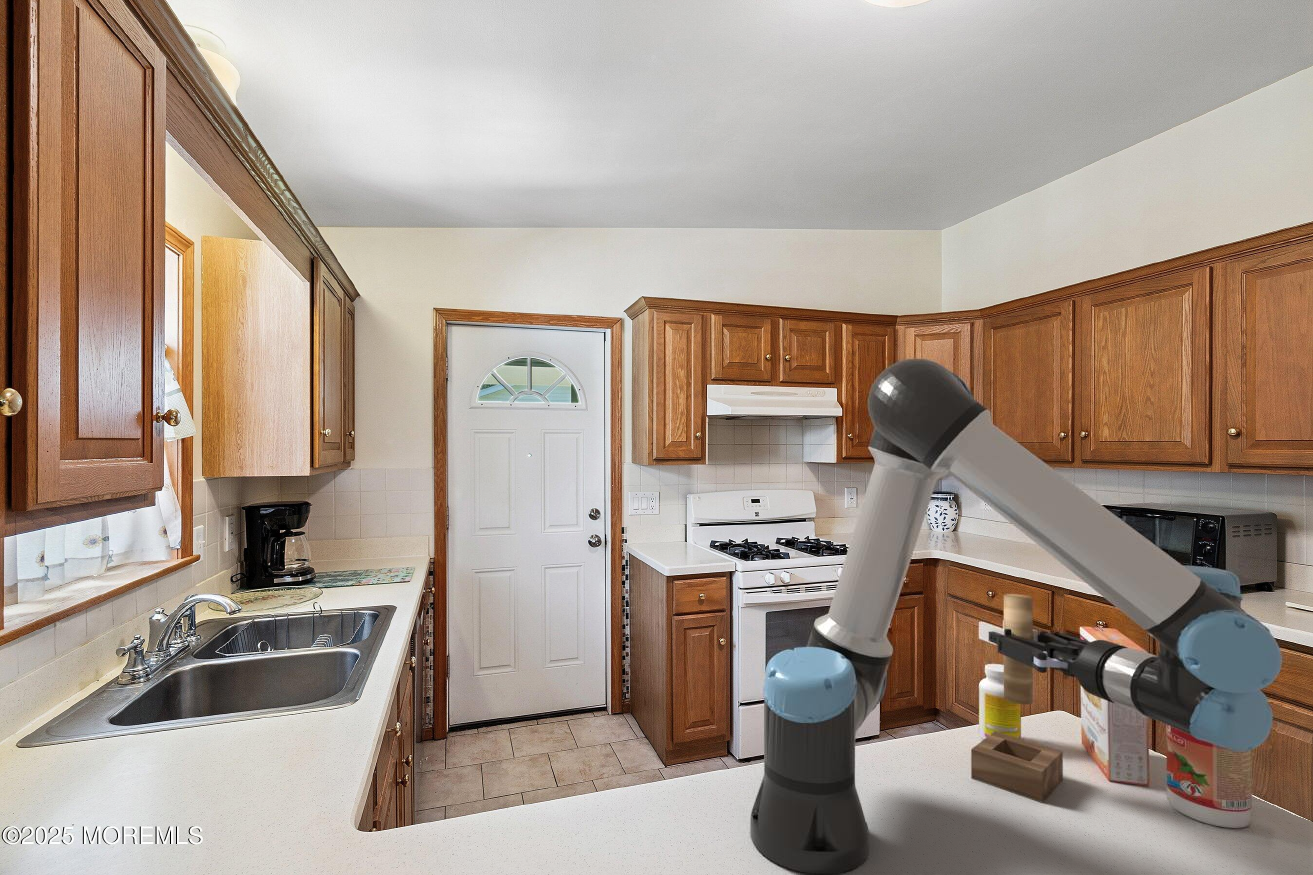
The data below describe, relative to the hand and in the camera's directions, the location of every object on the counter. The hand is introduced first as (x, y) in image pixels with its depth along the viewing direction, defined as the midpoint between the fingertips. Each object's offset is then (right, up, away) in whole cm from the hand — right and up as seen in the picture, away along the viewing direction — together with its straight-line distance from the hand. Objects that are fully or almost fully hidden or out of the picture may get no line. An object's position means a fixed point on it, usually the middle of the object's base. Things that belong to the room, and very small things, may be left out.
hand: (993, 629), depth 110 cm
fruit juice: (+23, -22, -15) cm, 35 cm away
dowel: (+1, -9, -5) cm, 11 cm away
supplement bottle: (+5, -22, +8) cm, 25 cm away
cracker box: (+19, -22, 0) cm, 30 cm away
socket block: (+1, -22, -6) cm, 23 cm away
